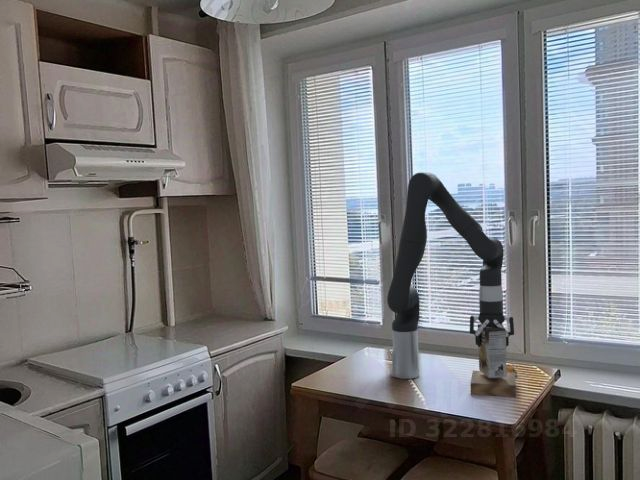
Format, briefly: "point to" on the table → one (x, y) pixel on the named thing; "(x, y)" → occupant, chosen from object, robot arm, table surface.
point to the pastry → (511, 369)
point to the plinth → (493, 385)
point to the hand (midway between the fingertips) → (492, 346)
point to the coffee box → (492, 352)
